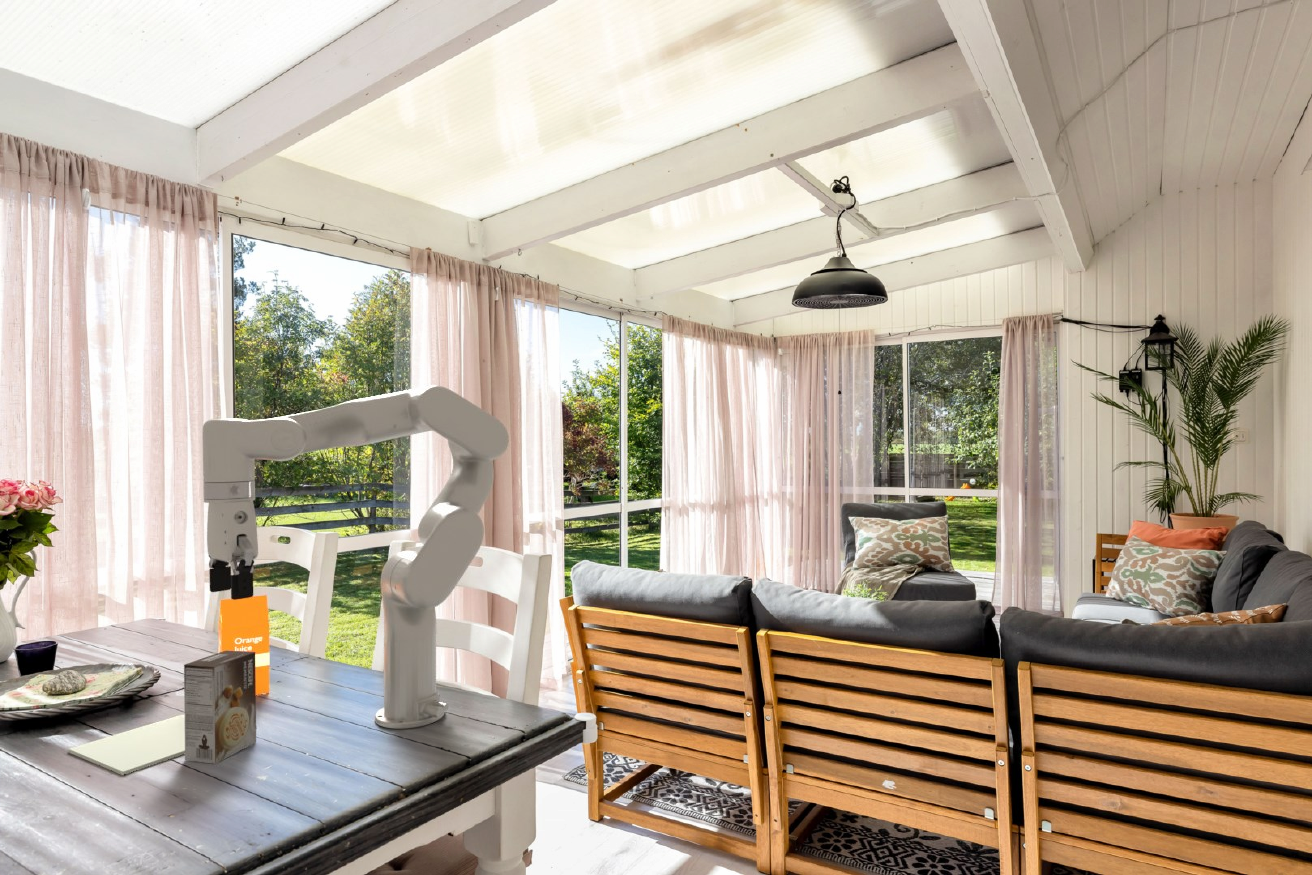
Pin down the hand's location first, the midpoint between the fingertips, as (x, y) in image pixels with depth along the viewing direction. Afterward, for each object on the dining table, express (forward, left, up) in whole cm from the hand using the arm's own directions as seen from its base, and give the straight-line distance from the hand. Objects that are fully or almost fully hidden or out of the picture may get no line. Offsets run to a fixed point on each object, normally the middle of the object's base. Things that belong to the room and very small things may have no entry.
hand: (231, 594), depth 125 cm
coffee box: (+3, 0, -27) cm, 28 cm away
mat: (+17, +2, -27) cm, 32 cm away
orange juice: (+30, -20, -27) cm, 45 cm away
